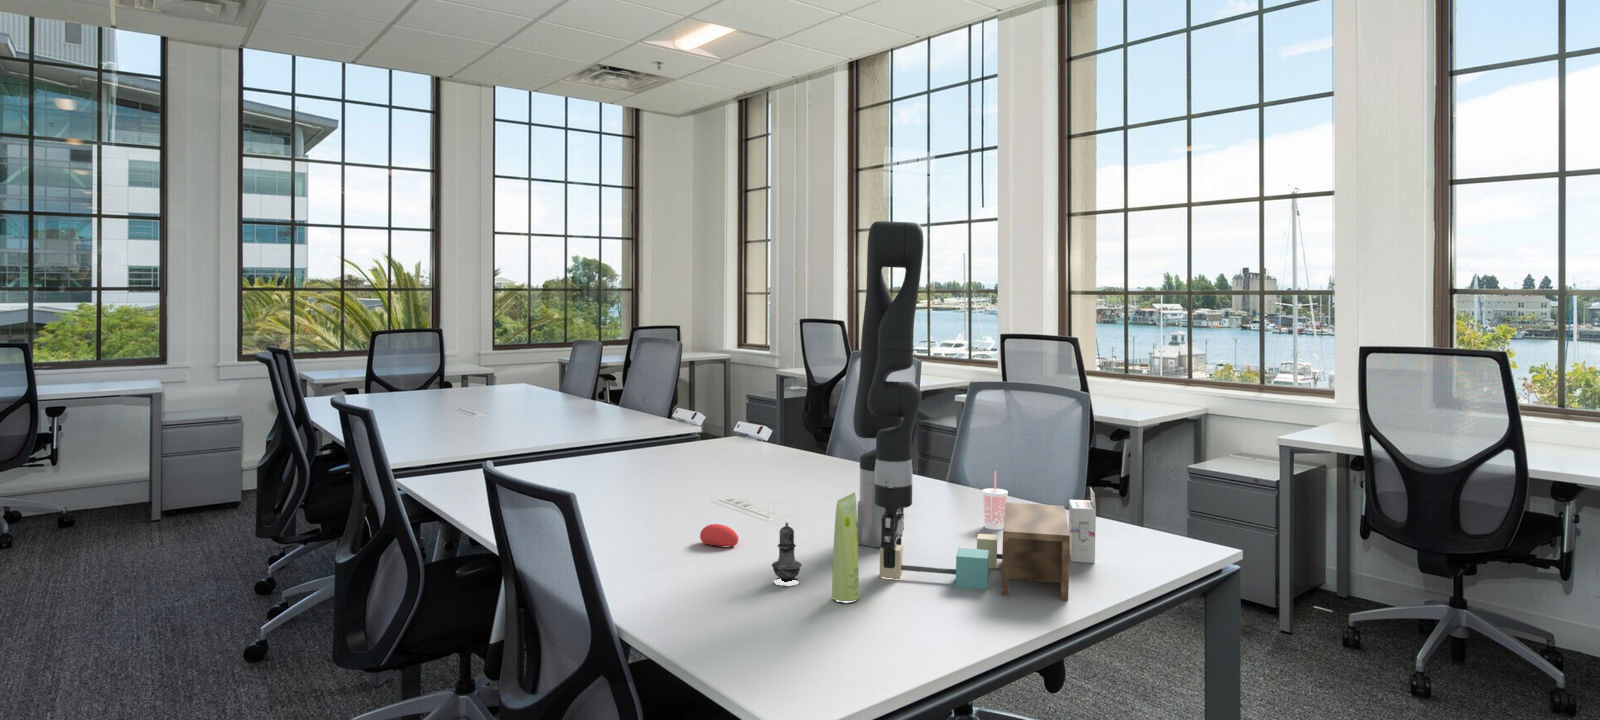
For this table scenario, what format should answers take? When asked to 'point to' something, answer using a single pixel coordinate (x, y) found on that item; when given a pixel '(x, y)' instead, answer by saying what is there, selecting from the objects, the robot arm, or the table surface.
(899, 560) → the teal and cream dumbbell
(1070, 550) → the ink cartridge box
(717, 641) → the table surface
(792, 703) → the table surface
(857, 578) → the tube
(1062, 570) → the walnut shelf
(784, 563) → the salt shaker
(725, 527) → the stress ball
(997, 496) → the beverage cup
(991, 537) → the beige cube-topped post
